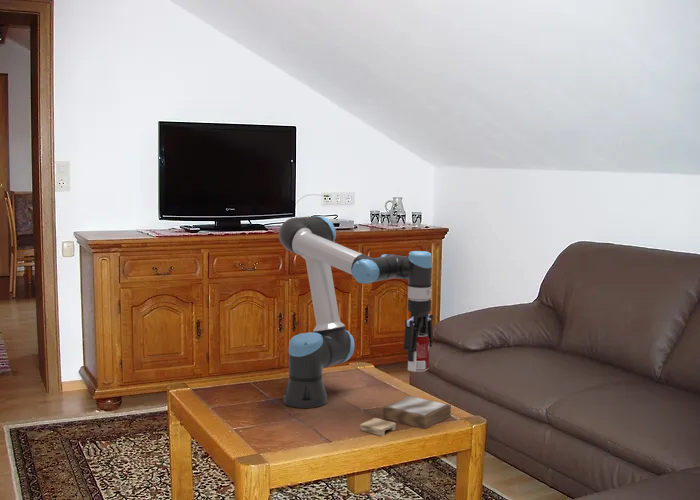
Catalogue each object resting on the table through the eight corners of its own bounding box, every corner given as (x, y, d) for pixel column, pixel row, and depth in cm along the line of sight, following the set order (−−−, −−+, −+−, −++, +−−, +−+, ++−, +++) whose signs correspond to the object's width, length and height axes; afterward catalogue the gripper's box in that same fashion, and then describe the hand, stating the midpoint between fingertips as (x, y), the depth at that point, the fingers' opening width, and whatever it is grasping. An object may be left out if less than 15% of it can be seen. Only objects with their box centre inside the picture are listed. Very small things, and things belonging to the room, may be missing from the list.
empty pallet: (360, 430, 240) (360, 424, 240) (375, 423, 246) (375, 417, 246) (381, 436, 235) (381, 429, 235) (395, 429, 242) (395, 423, 241)
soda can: (427, 373, 247) (428, 336, 246) (406, 371, 249) (407, 335, 247) (429, 367, 254) (430, 332, 252) (409, 366, 255) (410, 331, 254)
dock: (383, 418, 252) (383, 406, 251) (409, 406, 264) (410, 394, 264) (424, 428, 242) (425, 416, 242) (450, 415, 255) (450, 404, 254)
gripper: (412, 304, 239) (411, 376, 241) (445, 296, 254) (443, 364, 257) (392, 301, 243) (391, 372, 246) (425, 293, 259) (424, 360, 261)
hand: (418, 368), depth 251 cm, fingers closed on soda can, 7 cm apart
